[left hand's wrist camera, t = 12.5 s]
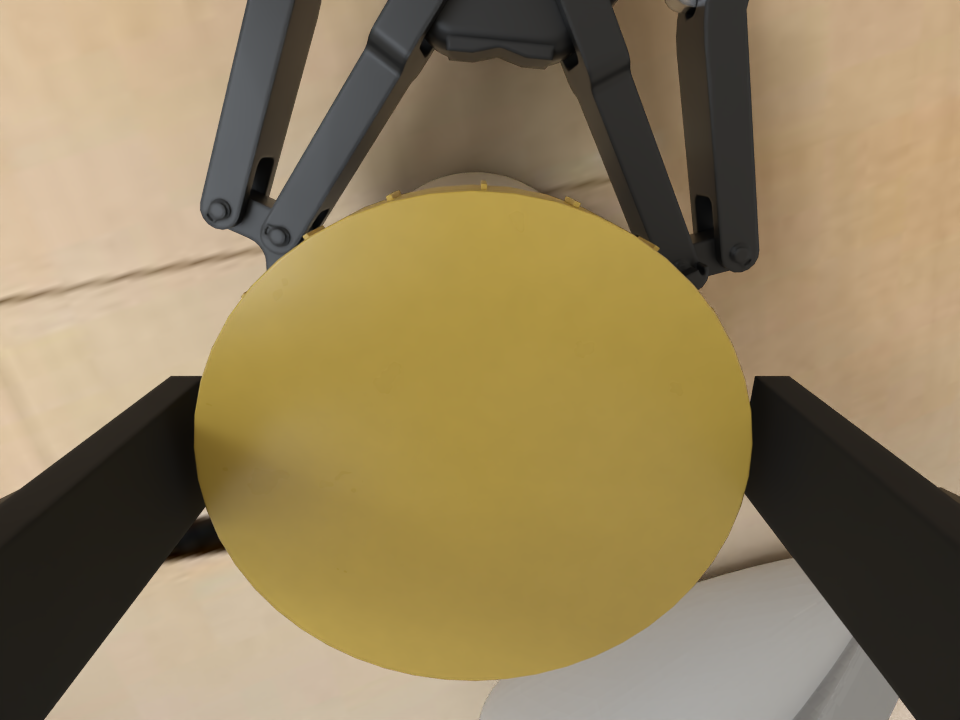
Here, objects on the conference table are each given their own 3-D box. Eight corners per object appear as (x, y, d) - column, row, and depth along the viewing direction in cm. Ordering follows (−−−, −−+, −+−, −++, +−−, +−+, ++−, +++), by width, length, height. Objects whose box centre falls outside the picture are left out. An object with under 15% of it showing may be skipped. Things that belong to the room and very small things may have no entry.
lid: (134, 266, 11) (80, 284, 10) (685, 108, 10) (721, 101, 9) (328, 663, 15) (311, 721, 14) (746, 574, 14) (779, 626, 13)
